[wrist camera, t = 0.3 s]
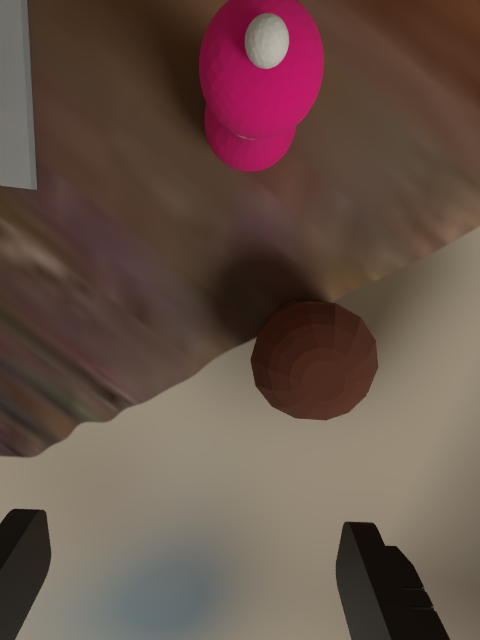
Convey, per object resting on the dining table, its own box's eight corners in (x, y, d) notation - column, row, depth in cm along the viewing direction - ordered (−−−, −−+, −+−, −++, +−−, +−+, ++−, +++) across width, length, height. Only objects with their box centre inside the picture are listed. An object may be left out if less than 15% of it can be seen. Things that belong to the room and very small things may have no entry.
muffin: (373, 351, 39) (418, 397, 30) (288, 404, 41) (305, 464, 32) (315, 262, 36) (345, 283, 27) (226, 324, 38) (224, 364, 29)
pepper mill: (304, 133, 33) (403, 35, 14) (246, 192, 34) (264, 177, 15) (249, 66, 31) (274, -151, 12) (191, 131, 33) (132, 28, 14)
